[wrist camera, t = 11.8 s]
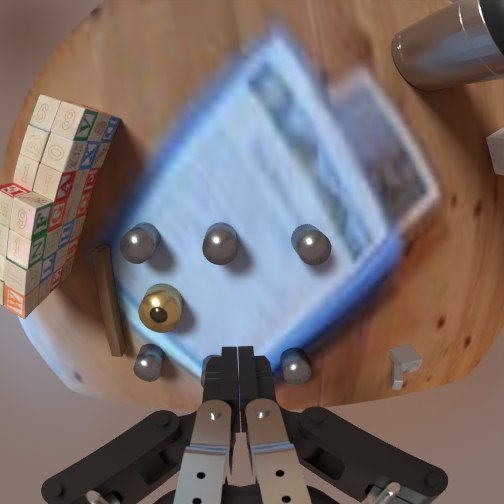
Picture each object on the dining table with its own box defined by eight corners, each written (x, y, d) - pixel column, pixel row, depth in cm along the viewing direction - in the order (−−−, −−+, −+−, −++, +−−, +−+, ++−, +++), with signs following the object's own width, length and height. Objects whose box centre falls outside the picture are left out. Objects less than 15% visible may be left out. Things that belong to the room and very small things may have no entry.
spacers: (321, 224, 35) (332, 233, 31) (302, 370, 42) (308, 388, 38) (122, 222, 33) (110, 231, 29) (144, 370, 40) (138, 387, 36)
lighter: (410, 343, 42) (434, 372, 35) (408, 352, 43) (431, 380, 35) (374, 351, 42) (396, 383, 34) (372, 359, 42) (393, 392, 35)
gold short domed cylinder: (182, 284, 36) (178, 297, 32) (184, 318, 37) (180, 334, 34) (143, 282, 35) (136, 295, 32) (147, 316, 37) (140, 331, 34)
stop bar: (110, 245, 33) (102, 251, 31) (126, 346, 38) (121, 356, 36) (99, 245, 33) (91, 251, 31) (117, 345, 38) (112, 355, 36)
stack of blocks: (81, 103, 28) (22, 88, 16) (122, 118, 29) (71, 104, 17) (37, 257, 33) (-16, 294, 21) (71, 275, 34) (23, 321, 23)
